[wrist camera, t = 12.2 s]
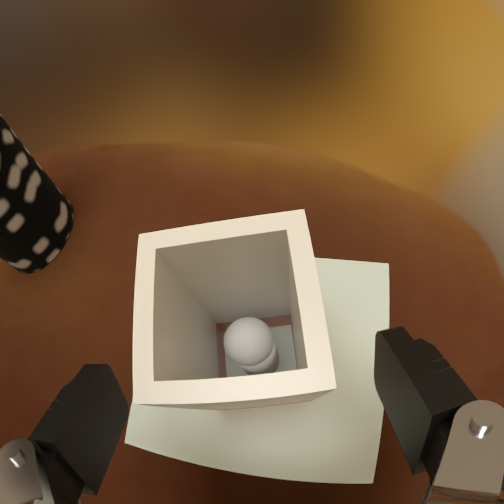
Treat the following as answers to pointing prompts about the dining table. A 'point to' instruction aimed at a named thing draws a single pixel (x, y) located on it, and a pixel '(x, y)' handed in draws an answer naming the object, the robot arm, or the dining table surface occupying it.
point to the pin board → (297, 414)
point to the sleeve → (227, 312)
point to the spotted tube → (29, 208)
